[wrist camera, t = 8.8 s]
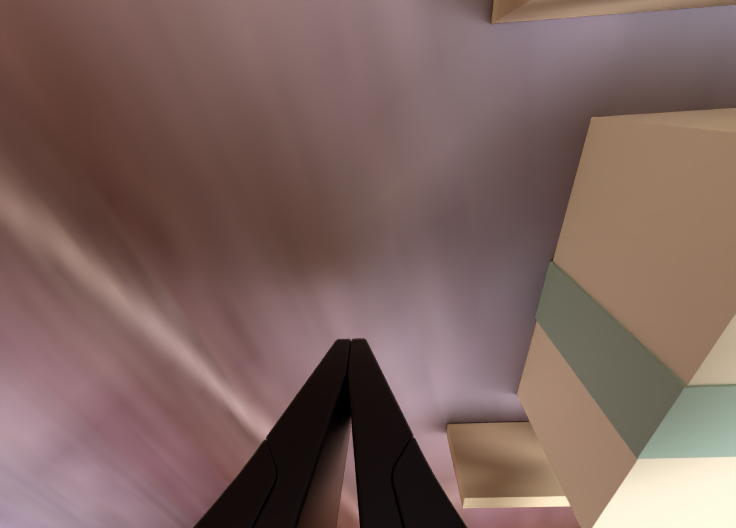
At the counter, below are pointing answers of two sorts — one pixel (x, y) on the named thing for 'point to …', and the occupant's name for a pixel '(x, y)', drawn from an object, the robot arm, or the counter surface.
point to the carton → (643, 327)
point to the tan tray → (517, 439)
